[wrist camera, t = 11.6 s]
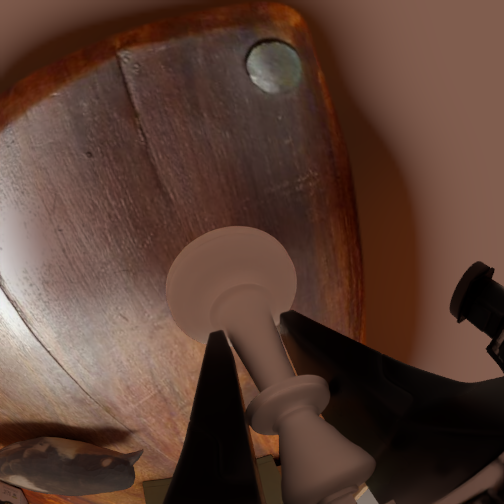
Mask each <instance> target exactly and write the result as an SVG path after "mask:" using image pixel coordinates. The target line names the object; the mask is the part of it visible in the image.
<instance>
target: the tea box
mask: <svg viewBox="0 0 504 504" xmlns="http://www.w3.org/2000/svg"><path fill="white" fill-rule="evenodd" d="M0 504H28V502H27V500H26V498H25V497H24V495H23V493H22V491H21V490H20V489H18V488H15V487H13V486H11V485H8V484H6V483H4V482H1V481H0Z"/></svg>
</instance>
